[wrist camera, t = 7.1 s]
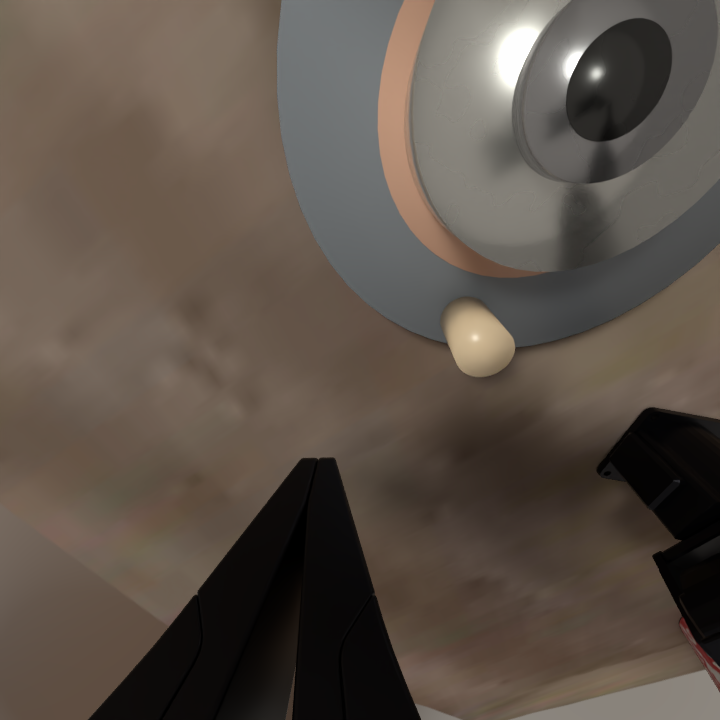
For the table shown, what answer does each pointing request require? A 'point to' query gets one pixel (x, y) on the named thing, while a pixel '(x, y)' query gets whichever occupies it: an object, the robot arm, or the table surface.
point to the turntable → (409, 213)
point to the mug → (702, 655)
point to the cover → (563, 123)
